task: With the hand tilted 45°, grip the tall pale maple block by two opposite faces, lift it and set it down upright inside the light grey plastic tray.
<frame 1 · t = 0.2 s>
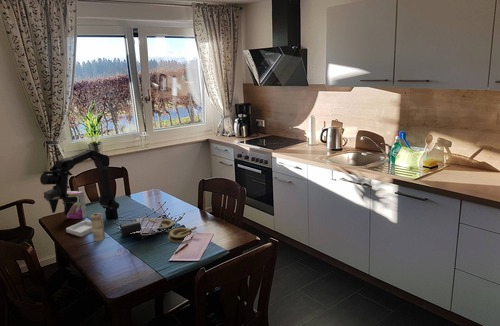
hand: (59, 213, 196), 16 cm above the table, tool tilted 15°, fingers open, 9 cm apart
tableware set: (172, 233, 207), on the table
tray: (83, 230, 213), on the table
candy bar box: (77, 217, 231), on the table
maple block: (99, 239, 201), on the table
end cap: (131, 235, 205), on the table
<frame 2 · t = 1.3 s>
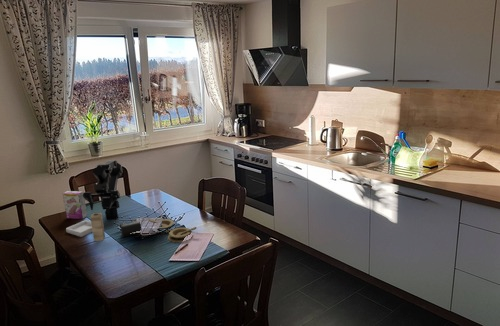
hand: (100, 209, 206), 13 cm above the table, tool tilted 45°, fingers open, 9 cm apart
nothing on the table moved.
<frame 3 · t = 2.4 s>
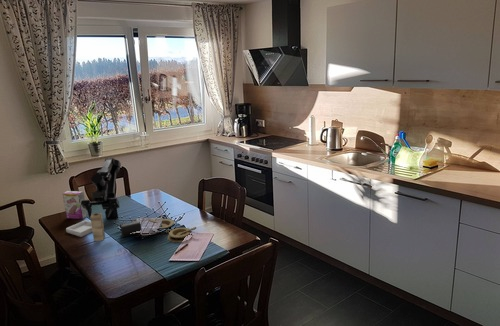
hand: (98, 217, 202), 11 cm above the table, tool tilted 45°, fingers open, 9 cm apart
nothing on the table moved.
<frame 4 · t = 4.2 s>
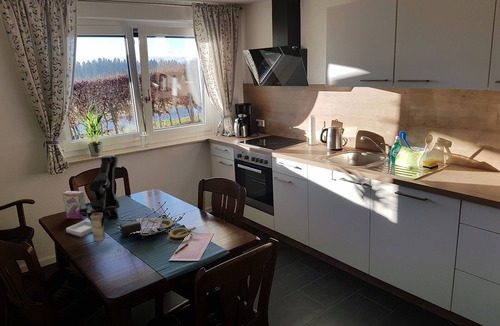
hand: (97, 226, 198), 8 cm above the table, tool tilted 45°, fingers closed on maple block, 4 cm apart
maple block: (99, 238, 201), on the table, touching gripper
everything else where it was.
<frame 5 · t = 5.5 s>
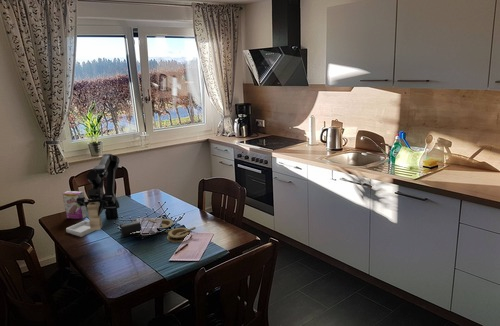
hand: (93, 215, 197), 13 cm above the table, tool tilted 45°, fingers closed on maple block, 4 cm apart
maple block: (96, 228, 200), point 6 cm above the table, touching gripper
everything else where it was.
when the fingers open (9 cm above the table, at t = 8.3 s): maple block drops 1 cm, resting on tray.
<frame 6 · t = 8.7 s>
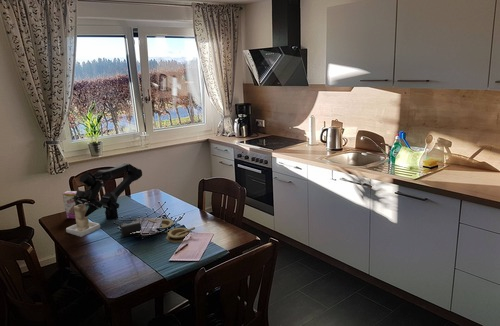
hand: (79, 215, 209), 9 cm above the table, tool tilted 45°, fingers open, 9 cm apart
maple block: (83, 229, 212), point 1 cm above the table, touching tray
everything else where it was.
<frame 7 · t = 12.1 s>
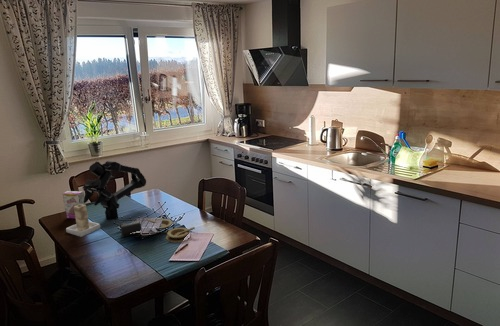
hand: (89, 204, 214), 14 cm above the table, tool tilted 45°, fingers open, 9 cm apart
nothing on the table moved.
at the end: maple block inside the target area on the tray (0.1 cm from its centre), point 0.6 cm above the tray's base; maple block tilted 0°; the gripper is holding nothing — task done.
